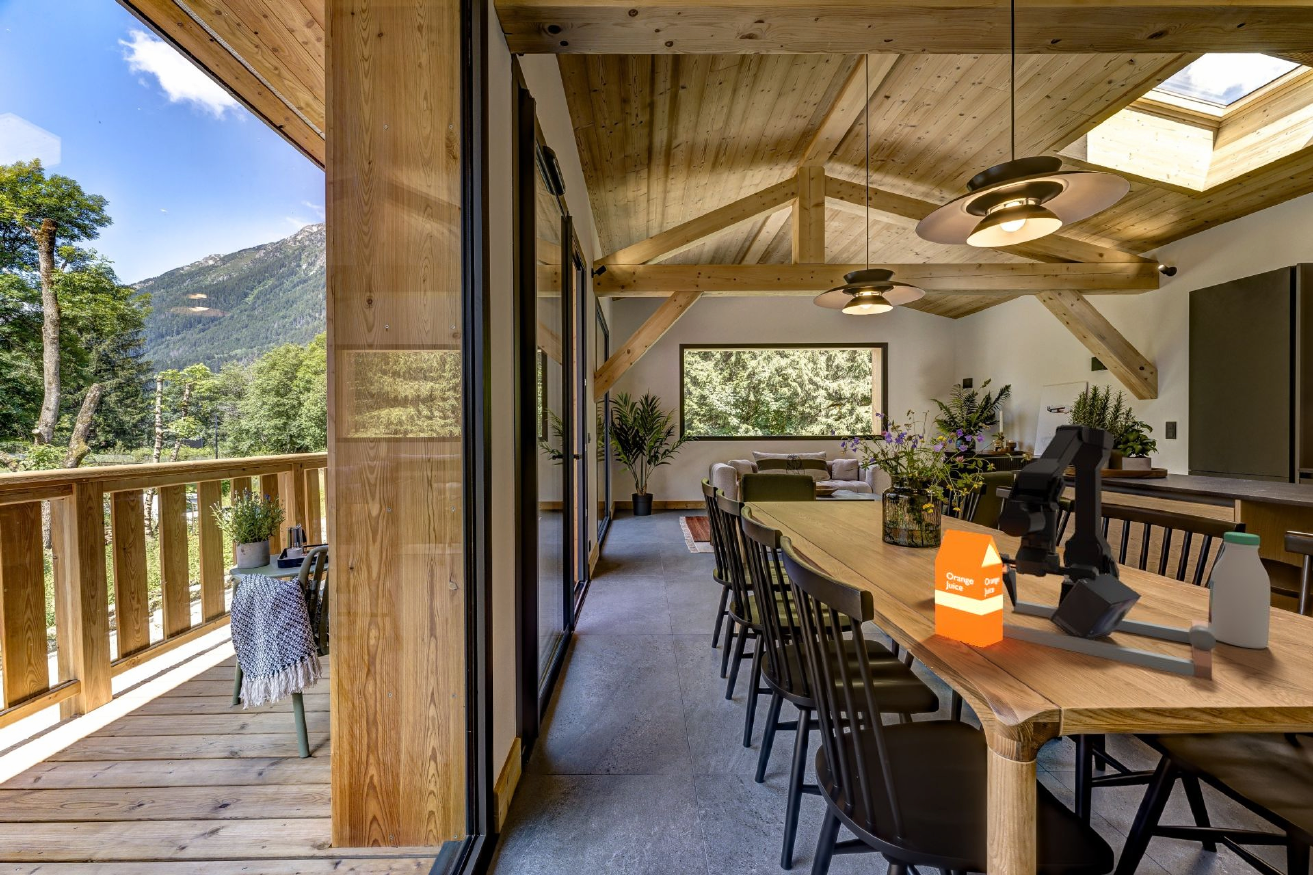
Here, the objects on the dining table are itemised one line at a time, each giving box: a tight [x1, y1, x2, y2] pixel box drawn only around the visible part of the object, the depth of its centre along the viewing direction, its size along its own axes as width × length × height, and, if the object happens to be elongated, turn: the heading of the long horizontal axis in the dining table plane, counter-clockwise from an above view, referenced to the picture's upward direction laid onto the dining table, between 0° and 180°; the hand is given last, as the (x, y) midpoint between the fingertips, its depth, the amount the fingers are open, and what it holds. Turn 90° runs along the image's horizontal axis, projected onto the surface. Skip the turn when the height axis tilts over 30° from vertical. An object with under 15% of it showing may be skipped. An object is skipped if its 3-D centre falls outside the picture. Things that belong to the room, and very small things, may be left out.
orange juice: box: [934, 528, 1004, 648], centre depth 106 cm, size 8×9×20 cm
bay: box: [1003, 599, 1217, 681], centre depth 104 cm, size 21×30×7 cm
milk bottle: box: [1207, 531, 1271, 650], centre depth 102 cm, size 8×8×20 cm
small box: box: [1048, 574, 1142, 641], centre depth 103 cm, size 11×6×10 cm, turn 115°
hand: (1036, 610), depth 110 cm, fingers open, 7 cm apart
